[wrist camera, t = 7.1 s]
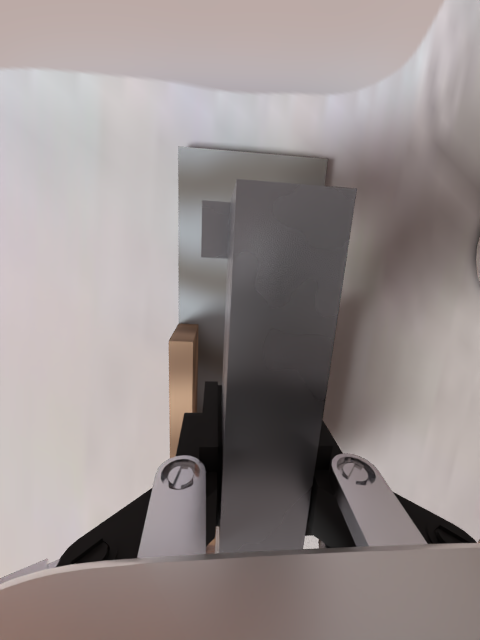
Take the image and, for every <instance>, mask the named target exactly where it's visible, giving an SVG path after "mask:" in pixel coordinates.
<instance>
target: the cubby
mask: <svg viewBox="0 0 480 640" xmlns="http://www.w3.org/2000/svg"><path fill="white" fill-rule="evenodd" d="M327 163H328V159H325V158H313V157H301V156H289V155H277V154H264V153H252V152H240V151H228V150H216V149H204V148H192V147H180V146H178V176H179V324H178V326H177V328H176V329H175V331H174V333H173V335H172V336H171V338H170V340H169V407H170V458H173V457H175V456H176V452H177V447H178V442H179V437H180V432H181V427H182V422H183V417H184V413H202V410H203V399H204V388H205V381H218V385H222V378H223V354H224V331H225V308H226V285H227V261H228V259H222V258H204V257H201V236H202V200H206V201H219V202H230V201H231V197H232V194H233V190H234V187H235V183H236V180H237V179H243V180H255V181H268V182H280V183H293V184H305V185H317V186H325V179H326V171H327ZM215 541H216V529H215V538H214V539H213V540H212V541H211V542H210V543H209V544H208V545H215Z"/></svg>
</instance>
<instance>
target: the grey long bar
mask: <svg viewBox="0 0 480 640" xmlns="http://www.w3.org/2000/svg"><path fill="white" fill-rule="evenodd" d="M356 191H357V189H354V188H342V187H330V186H317V185H305V184H293V183H280V182H268V181H255V180H243V179H237V180H236V183H235V187H234V190H233V194H232V197H231V201H230V202H219V201H206V200H202V236H201V257H204V258H222V259H228V261H227V285H226V308H225V331H224V354H223V378H222V401H221V406H222V442H223V447H222V473H221V495H220V516H219V527H216V541H215V545H207V547H206V554H218V553H237V552H256V551H277V550H299V549H303V545H304V538H305V531H306V525H307V518H308V511H309V505H310V498H311V491H312V485H313V478H314V471H315V465H316V458H317V451H318V445H319V438H320V431H321V425H322V418H323V411H324V405H325V398H326V391H327V385H328V378H329V371H330V365H331V358H332V351H333V345H334V338H335V331H336V325H337V318H338V311H339V305H340V298H341V291H342V285H343V278H344V271H345V265H346V258H347V251H348V245H349V238H350V231H351V225H352V218H353V211H354V205H355V198H356Z"/></svg>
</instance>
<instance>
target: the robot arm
mask: <svg viewBox="0 0 480 640" xmlns="http://www.w3.org/2000/svg"><path fill="white" fill-rule="evenodd" d="M476 266H477V275H478V278H479V282H480V237H479V241H478V245H477V255H476ZM221 401H222V385H218V381H205V388H204V399H203V410H202V413H184V417H183V422H182V427H181V432H180V437H179V442H178V447H177V452H176V456H175V457H173V458H170V459H168V460H167V461H165V462H164V463H162V464H161V466H160V467H159V468H158V470H157V472H156V475H155V479H154V484H153V488H151V489H150V490H149V491H147V492H146V493H144V494H143V495H141V496H140V497H139V498H137V499H136V500H134V501H133V502H131V503H130V504H128V505H127V506H126V507H124V508H123V509H121V510H120V511H118V512H117V513H115V514H114V515H113V516H111V517H110V518H108V519H107V520H105V521H104V522H102V523H101V524H100V525H98V526H97V527H95V528H94V529H92V530H91V531H90V532H88V533H87V534H85V535H84V536H82V537H81V538H79V539H78V540H77V541H76V542H75V543H73V544H72V545H71V546H70V547H69V548H68V549H67V550H66V551H65V553H64V554H63V555H62V556H61V558H60V559H59V560H56V561H54V562H52V563H49V564H48V559H45V560H43V561H40V562H38V563H36V564H33V565H31V566H28V567H26V568H24V569H21V570H19V571H16V572H14V573H11V574H9V575H7V576H4V577H2V578H0V640H480V539H479V542H478V543H477V542H476V541H475V540H474V539H473V538H472V537H471V536H469V535H468V534H467V533H466V532H465V531H463V530H462V529H460V528H459V527H457V526H455V525H454V524H452V523H450V522H448V521H446V520H444V519H443V518H441V517H439V516H437V515H435V514H433V513H431V512H429V511H428V510H426V509H424V508H422V507H420V506H418V505H416V504H415V503H413V502H411V501H409V500H407V499H405V498H403V497H401V496H400V495H398V494H396V493H394V492H392V490H391V489H390V487H389V486H388V484H387V483H386V481H385V480H384V478H383V477H382V475H381V474H380V472H379V471H378V470H377V468H376V467H375V466H374V465H373V464H372V463H370V462H369V461H368V460H366V459H364V458H362V457H360V456H357V455H354V454H348V453H344V454H343V453H342V451H341V450H340V448H339V446H338V445H337V443H336V442H335V440H334V438H333V437H332V435H331V433H330V432H329V430H328V428H327V427H326V425H325V424H324V422H323V420H322V425H321V431H320V438H319V445H318V451H317V458H316V465H315V471H314V478H313V485H312V491H311V498H310V505H309V511H308V518H307V525H306V531H305V536H307V535H314V536H315V537H317V538H318V539H319V542H318V543H319V549H299V550H277V551H256V552H237V553H218V554H206V547H207V545H208V544H209V543H210V542H211V541H212V540H213V539H214V538H215V529H216V527H219V516H220V495H221V473H222V447H223V442H222V406H221Z"/></svg>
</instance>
